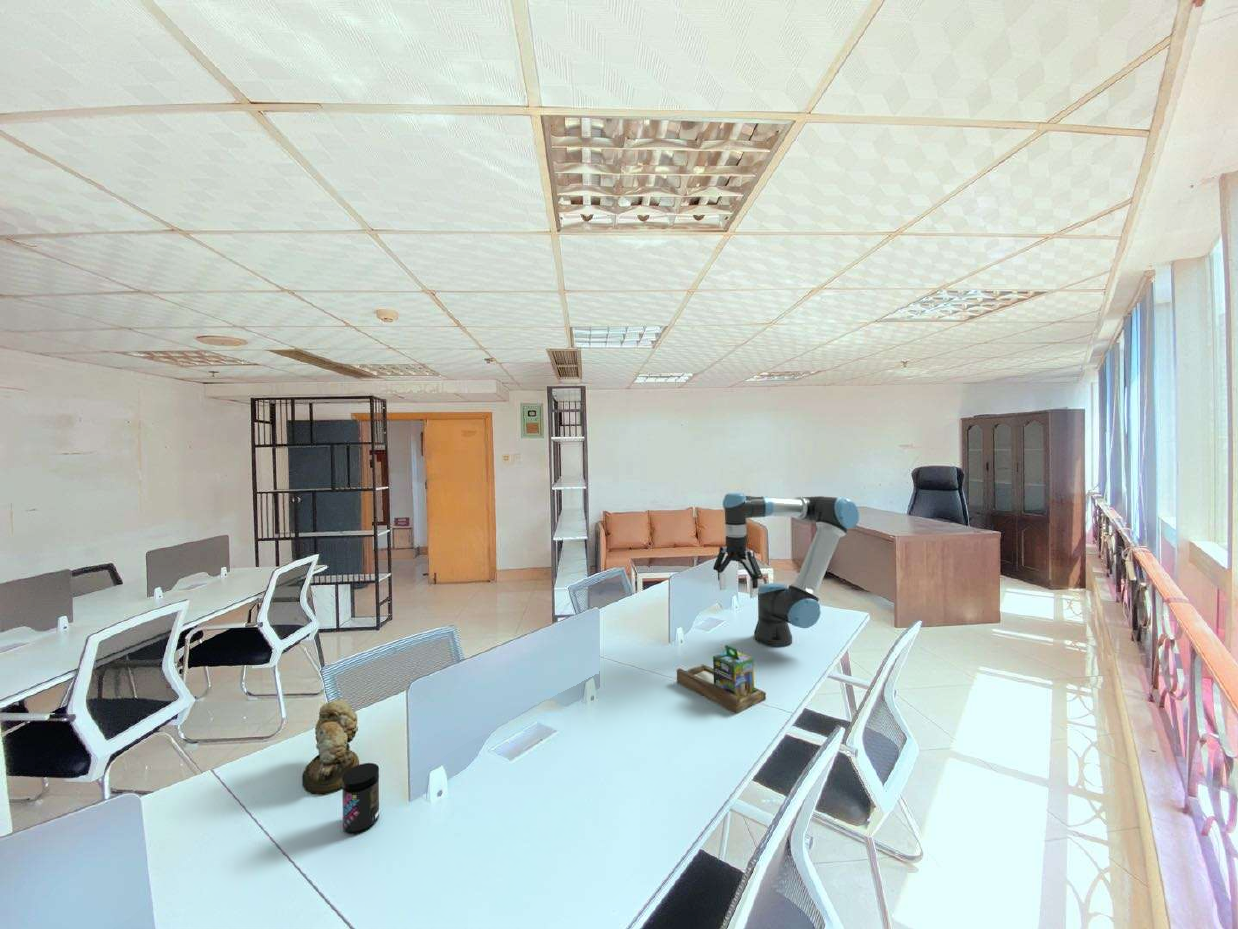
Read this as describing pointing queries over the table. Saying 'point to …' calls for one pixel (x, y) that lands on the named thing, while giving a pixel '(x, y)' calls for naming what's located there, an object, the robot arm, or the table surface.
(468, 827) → the table surface
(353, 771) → the supplement container
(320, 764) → the tan statuette
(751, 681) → the chalk box
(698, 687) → the brown wooden tray
